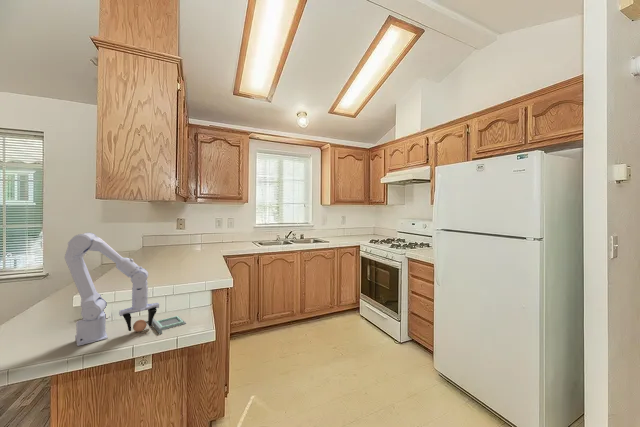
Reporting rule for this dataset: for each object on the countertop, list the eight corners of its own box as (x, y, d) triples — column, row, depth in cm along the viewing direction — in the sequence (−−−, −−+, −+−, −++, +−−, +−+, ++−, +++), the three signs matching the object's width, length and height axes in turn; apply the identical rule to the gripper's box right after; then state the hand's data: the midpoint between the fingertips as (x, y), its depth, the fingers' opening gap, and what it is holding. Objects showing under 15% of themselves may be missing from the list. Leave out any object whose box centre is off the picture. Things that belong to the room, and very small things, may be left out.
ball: (134, 335, 115) (134, 323, 115) (131, 331, 118) (131, 320, 118) (147, 331, 118) (147, 320, 118) (145, 327, 122) (145, 316, 122)
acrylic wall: (159, 334, 116) (159, 328, 116) (148, 320, 130) (148, 315, 130) (162, 333, 116) (162, 327, 116) (150, 319, 131) (150, 314, 131)
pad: (159, 330, 119) (159, 328, 119) (153, 323, 127) (153, 320, 127) (186, 323, 127) (186, 321, 127) (178, 317, 134) (178, 314, 134)
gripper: (121, 303, 110) (121, 336, 110) (161, 295, 120) (160, 325, 120) (118, 299, 115) (118, 330, 115) (156, 292, 125) (156, 320, 125)
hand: (139, 327), depth 118 cm, fingers open, 7 cm apart
